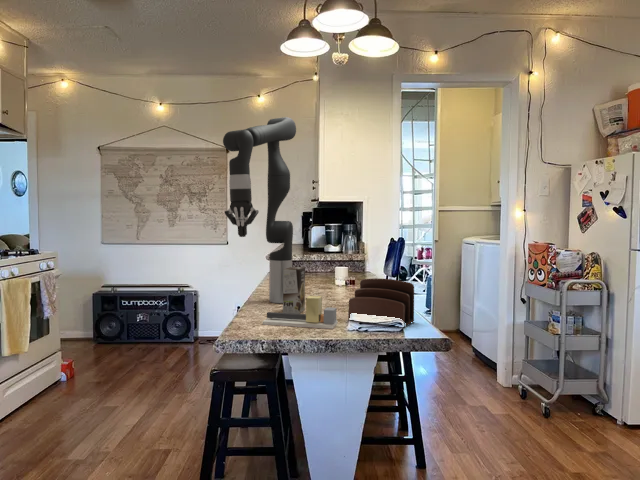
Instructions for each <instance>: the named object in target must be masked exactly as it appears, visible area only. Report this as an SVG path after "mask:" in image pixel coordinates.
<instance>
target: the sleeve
mask: <svg viewBox="0 0 640 480" xmlns="http://www.w3.org/2000/svg"><path fill="white" fill-rule="evenodd" d="M305 314H306V322H317V323H318V322H319V315H321V314H323V296H322V295H309V296H307V297H305Z"/></svg>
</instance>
